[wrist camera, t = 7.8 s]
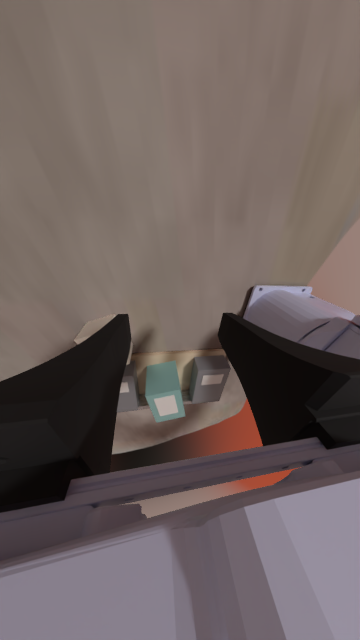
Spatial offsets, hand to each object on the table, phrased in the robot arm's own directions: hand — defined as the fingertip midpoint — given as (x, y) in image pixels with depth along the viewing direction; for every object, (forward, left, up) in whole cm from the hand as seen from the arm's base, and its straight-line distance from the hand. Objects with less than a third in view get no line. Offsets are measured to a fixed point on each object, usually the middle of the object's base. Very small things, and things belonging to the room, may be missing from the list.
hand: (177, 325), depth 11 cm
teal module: (0, +18, -9) cm, 20 cm away
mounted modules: (0, +18, -10) cm, 21 cm away
